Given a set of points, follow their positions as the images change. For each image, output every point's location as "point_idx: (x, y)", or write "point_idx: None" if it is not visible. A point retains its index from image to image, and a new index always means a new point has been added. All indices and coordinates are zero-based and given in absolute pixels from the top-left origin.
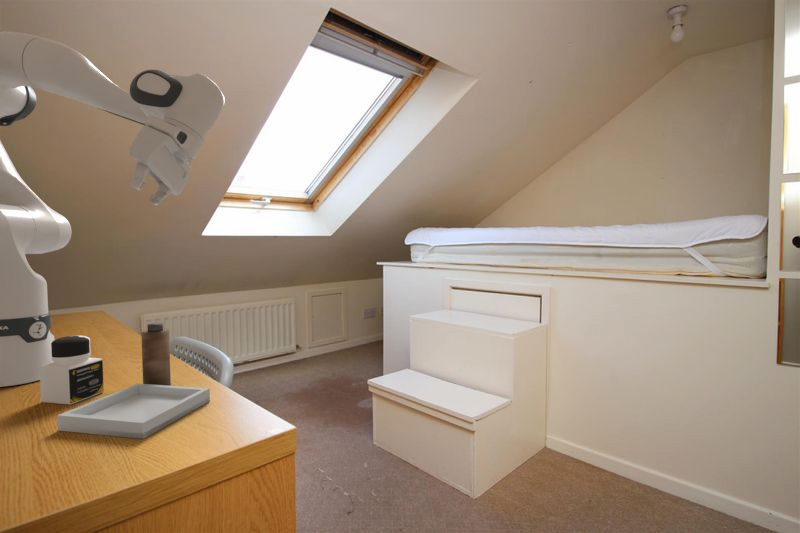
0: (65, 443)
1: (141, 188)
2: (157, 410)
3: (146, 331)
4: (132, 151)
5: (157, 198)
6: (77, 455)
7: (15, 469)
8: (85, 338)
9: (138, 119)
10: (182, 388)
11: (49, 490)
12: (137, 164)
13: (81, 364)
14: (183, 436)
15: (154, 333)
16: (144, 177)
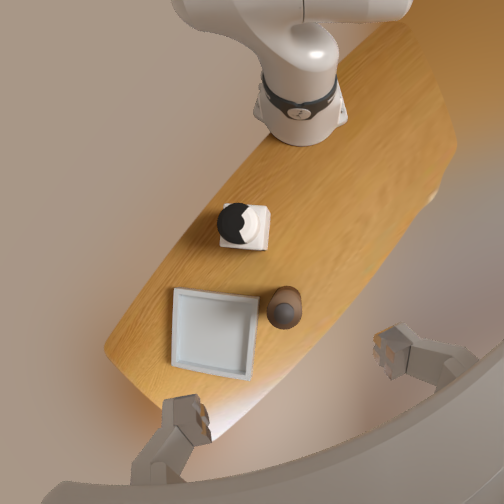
0: (162, 310)
1: (205, 423)
2: (215, 348)
3: (280, 301)
4: (56, 498)
5: (387, 370)
6: (151, 332)
7: (133, 308)
8: (240, 240)
9: None
10: (247, 356)
11: (121, 345)
12: (132, 481)
13: (234, 246)
14: (184, 385)
15: (269, 321)
16: (179, 465)
